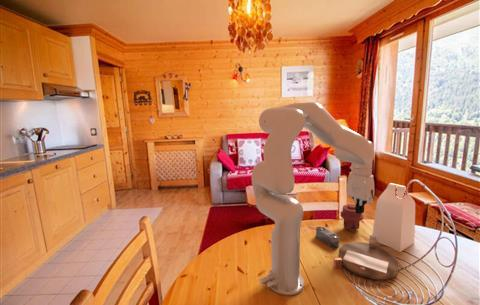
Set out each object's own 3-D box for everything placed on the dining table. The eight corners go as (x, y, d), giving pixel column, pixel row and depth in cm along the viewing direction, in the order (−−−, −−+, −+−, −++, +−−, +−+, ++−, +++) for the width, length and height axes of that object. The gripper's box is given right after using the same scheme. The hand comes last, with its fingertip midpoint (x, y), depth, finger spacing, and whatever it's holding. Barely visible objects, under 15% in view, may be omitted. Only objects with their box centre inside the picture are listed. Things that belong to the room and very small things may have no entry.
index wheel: (374, 286, 80) (375, 269, 79) (327, 255, 97) (328, 240, 96) (410, 267, 88) (411, 251, 87) (361, 241, 106) (362, 227, 105)
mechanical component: (359, 225, 123) (365, 235, 113) (338, 224, 125) (342, 234, 115) (360, 202, 121) (366, 210, 111) (339, 201, 123) (343, 209, 113)
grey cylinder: (334, 249, 103) (334, 239, 103) (314, 236, 114) (314, 227, 113) (341, 246, 105) (341, 237, 104) (320, 234, 116) (320, 225, 115)
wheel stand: (350, 279, 85) (351, 270, 85) (332, 266, 92) (333, 258, 92) (379, 265, 92) (379, 257, 91) (360, 254, 99) (360, 246, 98)
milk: (371, 239, 110) (375, 183, 106) (386, 231, 116) (390, 179, 111) (400, 251, 100) (405, 191, 95) (414, 243, 106) (420, 185, 101)
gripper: (340, 168, 104) (338, 208, 108) (372, 176, 91) (369, 222, 94) (352, 165, 107) (350, 205, 111) (385, 173, 94) (382, 217, 98)
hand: (359, 212), depth 103 cm, fingers closed
